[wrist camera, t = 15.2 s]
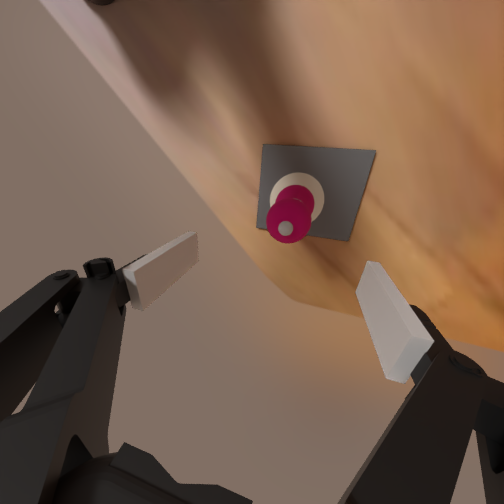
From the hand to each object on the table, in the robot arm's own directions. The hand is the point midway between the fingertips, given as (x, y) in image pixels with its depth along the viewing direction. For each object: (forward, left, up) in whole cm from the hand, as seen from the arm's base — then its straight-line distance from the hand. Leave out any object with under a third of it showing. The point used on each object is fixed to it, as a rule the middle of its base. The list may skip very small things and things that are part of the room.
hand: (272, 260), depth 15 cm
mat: (+2, +1, -29) cm, 29 cm away
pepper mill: (0, 0, -28) cm, 28 cm away
